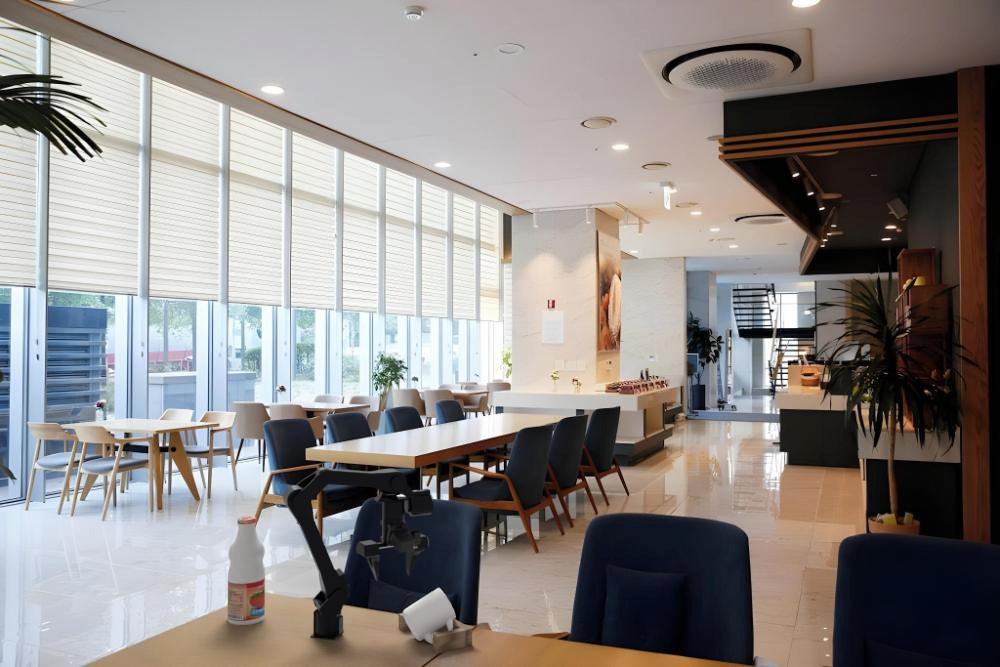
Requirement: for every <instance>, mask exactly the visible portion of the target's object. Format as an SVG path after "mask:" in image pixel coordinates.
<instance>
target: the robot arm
mask: <svg viewBox="0 0 1000 667" xmlns="http://www.w3.org/2000/svg"><path fill="white" fill-rule="evenodd" d="M407 483H408V482H407V475H405V474H404V473H403V472H401V471H399V470H397V469H395V468H385V469H383V468H382V469H378V470H371V471H366V470H355V469H354V470H353V469H352V470H351V469H338V468H327V467H325V466H323V467H318V468H317V470H315V471H314V472H313V473H311V474H310V475H308V476H306V477H305V478H303V479H302V480H300V481H299V482H297V484H296V485H293V484H292V485H290V486H288V487H287V488H286V489H285V490H284V493H283V495H282V499H283V503H284V504H285V506H286V507H287V508H288V510H289V512H290V513H291V515H292V516H293V518H294V519H295V521H296V522H297V524H298V525H299V529H300V531H301V533H302V536H303V538H304V540H305V542H306V545H307V548H308V550H309V552H310V555H311V558H312V559H313V563H314V564H315V567H316V569H317V572H318V582H319V586H320V591H319V592H317V594H316V595H315V596H314V597H313V599H312V602H313V604H314V607H316V609H315V610H313V620H312V621H313V624H312V625H313V627H312V629H313V631H312V634H311V635H310V638H311V639H319V638H320V639H321V640H331V641H332V640H334V641H335V640H336V639H337V638H338V637H339V636H340V635H342V633H344V631H345V630H344V615H342V610H343V607H344V605H345V604H346V603H347V601H349V598H350V595H351V593H350V589H352V588H351V585H349V583H348V581H347V576H346V574H345V572H344V571H343V570H342V569H341V568H340V567H338V568H336V569H335V567H334V565H333V562H332V560H331V557H330V554H329V552H328V550H327V548H326V545H325V543H324V540H323V537H322V535H321V533H320V531H319V529H318V528H319V527H318V526H317V524H316V521H315V517H314V516H315V515H314V508H313V504H312V501H313V500H314V499H315V498H316V497H318V496H319V494H320V493H321V492H322V491H323V490H324V489H325V487H327V486H328V485H333V486H334V485H335V486H349V487H363V488H364V487H366V488H373V489H376V490H380V492H379V494H378V495H377V496H375V497H374V501H376V502H377V503H381V504H382V511H381V513H382V520H379V521H380V522H379V523H380V524H379V525H380V526H382V531H381V533H382V535H380V537H379V540H380V541H381V542H376V541H374V540H371V539H369V540H364V541H358V542H357V544H356V546H355V547H356V548H355V550H356V552H355V553H356V554H358V555H360V556H362V557H364V558H365V559H366V561H367V562H368V564H369V567H370V569H371V572H372V575H373V577H374V579H375V581H377V582H378V581H379V579H380V578H379V577H380V568H379V567H380V566H379V564H380V563H379V561H380V558H381V556H380V555H379V553H380V551H384V550H389V549H390V550H391V549H394V550H395V551H396V552H397V553H400V554H401V553H404V552H405V566H406V568H405V570H406V574H407V575H408V576H411V573H412V570H413V568H414V566H415V562H416V560H417V557H418V556H419V554H421V552H424V551H425V550H426V549H427V548H428V547H430V540H429V537H428V535H424V534H422V533H421V530H419V529H415V530H414V529H413V530H408V524H407V521H405V513H406V514H408V516H410V517H417V516H418V517H419V516H428V515H429V516H430V515H432V514H433V511H434V501H433V498H432V497H433V496H432V495H431V490H430V489H428V488H423V489H420V490H419V489H417V490H413V489H411V487H410V486H409V485H408V484H407ZM385 492H387V493H390V494H385ZM397 494H401V496H397ZM402 495H403V496H402ZM425 548H426V549H425Z"/></svg>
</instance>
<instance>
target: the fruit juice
mask: <svg viewBox="0 0 1000 667" xmlns="http://www.w3.org/2000/svg"><path fill="white" fill-rule="evenodd" d="M257 522H258V519H257V517H256V516H242V517H238V518H237V522H236V523H237V526H238V530H237V534H236V537H235V540H234V541H233V542H232V544H231V545H230V546H229V549H228V558H229V561H230V565H229V568H228V570H227V571H228V572H227V620H226V621H227V622H228V623H229V624H231V625H236V626H239V625H240V626H241V625H242V626H243V625H244V626H246V625H253V624H257V623H261V622H263V621H264V619H266V618H265V614H266V613H265V612H266V611H265V608H266V607H265V606H266V605H265V604H266V602H265V601H266V600H265V599H266V594H265V593H266V568H265V565H264V561H263V560H264V557H265V550H266V549H265V545H264V544H263V542H262V541H261V540H260V539H259V535H258V533H257V529H256V525H257Z"/></svg>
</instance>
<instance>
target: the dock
mask: <svg viewBox="0 0 1000 667" xmlns="http://www.w3.org/2000/svg"><path fill="white" fill-rule="evenodd" d="M398 629H399V630H401V631H407V630H410V628H409V627H408V625H407V623H406V621H405V619H404V616H403V612H401V613H398ZM437 631H438V633H432V639H433V644H432V652H433V653H435V654H441V653H446V652H449V651H455V650H458V649H461V648H465V647H470V646H473V628H472V627H470V626H468V625H466V624H464V622H463V623H462V622H461V621H459V620H457V619H456V618H455V619H453V630H450V631H448V627H447V625H444V626H443V627H441V628H440V629H438V630H437Z"/></svg>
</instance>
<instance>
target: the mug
mask: <svg viewBox="0 0 1000 667" xmlns="http://www.w3.org/2000/svg"><path fill="white" fill-rule="evenodd" d="M402 613H403V616H404V619H405V621H406V623H407V625H408V627H409V628H410V629H409V630H410V632H411V633H412V635H413V637H414V638H415V639H416V640H417V641H419V642H420V641H423V640H425V641H426V642H427V643H429V644H430V645H433V634H435V632H437V631H438V629H440V628H441V627H443V626H444V625H447V627H448V631H450V630H453V619H456V618H457V617H456V613H455V609H454V607H453V606H452V603H451V602H450V600H449V598H448V597H447V595H446V593H444V591H443V590H442V589H441V588H440V587H437V588H435V589H434V590H433V591H431V592H429V593H428V594H426V595H425V596H423V597H421V598H419V600H416V601H415V602H414V603H411V605H409V606H408V607H406V608H404V609H403V611H402Z"/></svg>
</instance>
